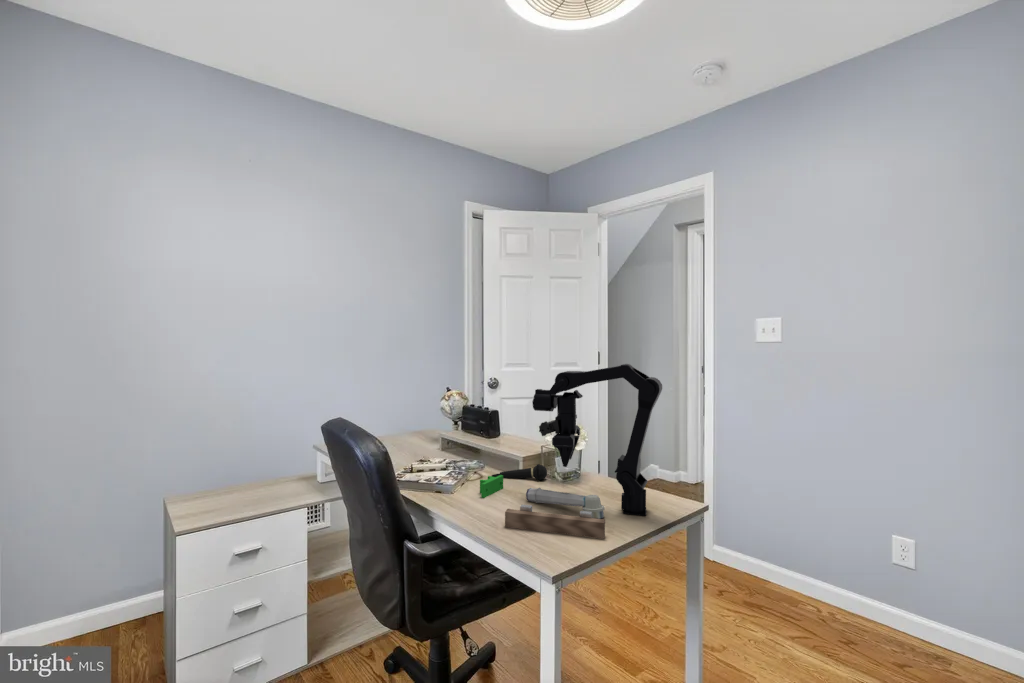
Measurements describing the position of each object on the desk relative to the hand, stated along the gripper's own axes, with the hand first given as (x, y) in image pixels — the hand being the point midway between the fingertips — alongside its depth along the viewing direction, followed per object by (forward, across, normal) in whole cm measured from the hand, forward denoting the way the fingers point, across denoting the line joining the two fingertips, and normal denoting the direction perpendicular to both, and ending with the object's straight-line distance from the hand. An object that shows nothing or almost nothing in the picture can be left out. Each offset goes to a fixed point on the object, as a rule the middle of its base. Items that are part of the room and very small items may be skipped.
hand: (567, 462), depth 149 cm
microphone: (+12, -19, -20) cm, 30 cm away
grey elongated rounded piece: (+12, +7, 0) cm, 14 cm away
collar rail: (+12, +24, 0) cm, 26 cm away
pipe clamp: (+12, -1, -26) cm, 28 cm away
